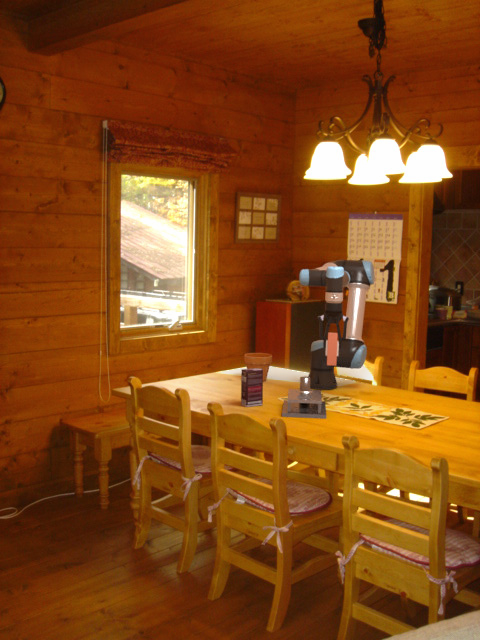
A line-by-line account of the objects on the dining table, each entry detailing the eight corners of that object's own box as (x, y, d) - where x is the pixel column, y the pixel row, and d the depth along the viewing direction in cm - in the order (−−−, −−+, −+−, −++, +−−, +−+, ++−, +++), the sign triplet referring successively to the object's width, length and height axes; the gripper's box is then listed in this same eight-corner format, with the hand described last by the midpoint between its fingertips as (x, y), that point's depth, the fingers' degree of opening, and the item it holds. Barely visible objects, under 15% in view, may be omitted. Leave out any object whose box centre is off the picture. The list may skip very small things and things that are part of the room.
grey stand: (281, 416, 297) (282, 385, 296) (283, 403, 321) (284, 374, 319) (326, 418, 296) (327, 387, 294) (325, 405, 319) (326, 376, 318)
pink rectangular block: (327, 365, 317) (328, 333, 316) (326, 363, 321) (328, 332, 320) (336, 365, 317) (337, 333, 316) (335, 364, 321) (337, 332, 319)
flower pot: (245, 376, 380) (246, 352, 379) (272, 378, 378) (273, 353, 377) (241, 382, 366) (242, 356, 365) (270, 383, 364) (270, 357, 363)
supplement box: (256, 403, 320) (257, 367, 319) (262, 405, 316) (263, 369, 314) (240, 405, 316) (240, 369, 314) (245, 407, 312) (246, 370, 310)
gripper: (314, 302, 313) (312, 355, 316) (354, 303, 312) (352, 357, 314) (314, 300, 321) (312, 353, 323) (353, 302, 319) (350, 354, 322)
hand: (331, 355), depth 319 cm, fingers closed on pink rectangular block, 4 cm apart
